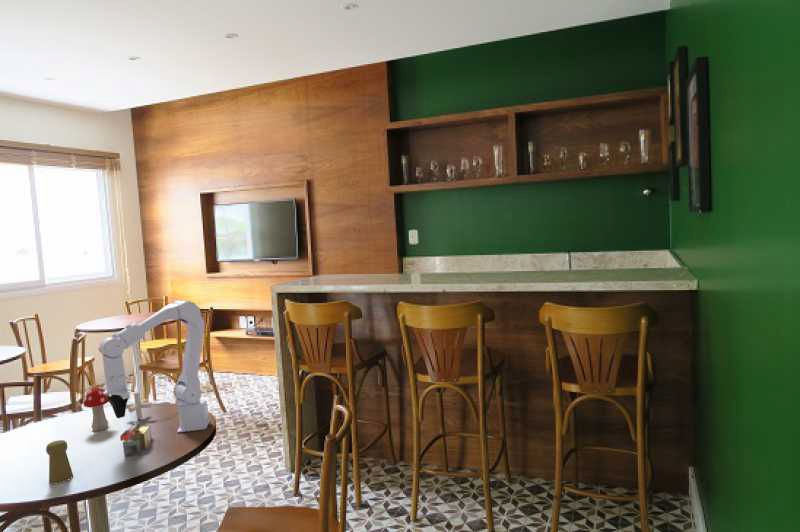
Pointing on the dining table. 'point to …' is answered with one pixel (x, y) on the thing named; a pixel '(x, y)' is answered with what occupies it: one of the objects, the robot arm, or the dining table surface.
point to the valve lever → (130, 431)
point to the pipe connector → (138, 405)
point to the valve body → (137, 441)
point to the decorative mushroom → (97, 407)
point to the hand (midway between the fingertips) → (120, 417)
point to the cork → (58, 462)
